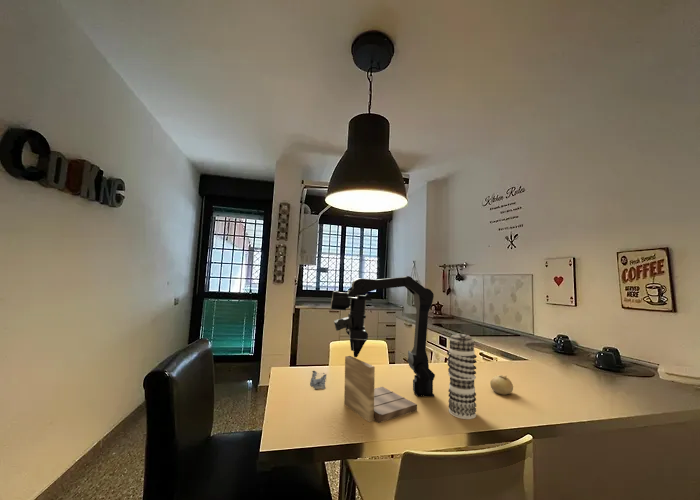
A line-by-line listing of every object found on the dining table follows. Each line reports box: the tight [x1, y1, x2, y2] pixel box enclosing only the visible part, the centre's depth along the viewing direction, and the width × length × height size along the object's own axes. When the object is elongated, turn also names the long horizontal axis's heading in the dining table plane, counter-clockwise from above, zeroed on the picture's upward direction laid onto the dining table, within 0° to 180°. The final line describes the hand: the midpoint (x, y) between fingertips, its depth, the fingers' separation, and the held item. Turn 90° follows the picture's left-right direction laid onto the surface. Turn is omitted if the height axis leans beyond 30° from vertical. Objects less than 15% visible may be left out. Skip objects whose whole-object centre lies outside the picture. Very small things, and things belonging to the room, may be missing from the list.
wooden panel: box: [373, 386, 418, 424], centre depth 102 cm, size 16×18×2 cm
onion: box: [490, 374, 514, 396], centre depth 116 cm, size 8×8×7 cm
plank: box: [343, 355, 376, 422], centre depth 97 cm, size 2×14×16 cm, turn 33°
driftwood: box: [309, 370, 327, 391], centre depth 125 cm, size 21×7×2 cm, turn 2°
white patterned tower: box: [446, 333, 477, 420], centre depth 99 cm, size 9×9×25 cm
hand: (353, 353), depth 111 cm, fingers open, 9 cm apart
